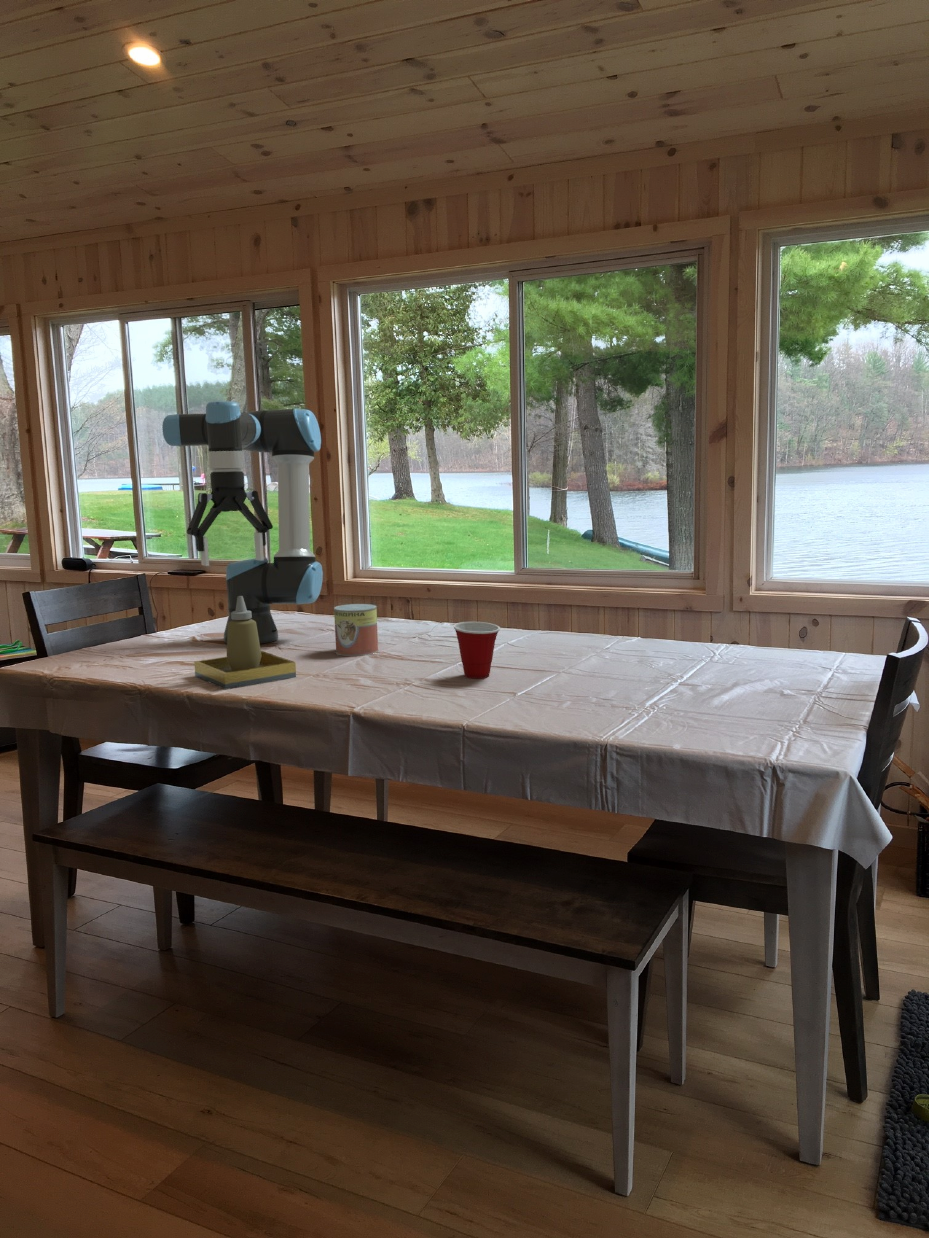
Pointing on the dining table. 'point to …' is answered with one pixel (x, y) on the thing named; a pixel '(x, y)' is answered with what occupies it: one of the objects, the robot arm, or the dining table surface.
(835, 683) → the dining table surface
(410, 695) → the dining table surface
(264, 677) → the shallow tray
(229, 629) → the squeeze bottle
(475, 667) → the plastic cup
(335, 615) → the canned food
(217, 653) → the dining table surface
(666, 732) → the dining table surface
